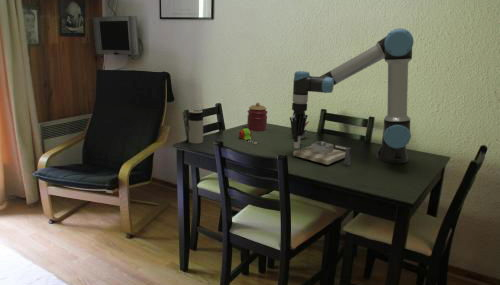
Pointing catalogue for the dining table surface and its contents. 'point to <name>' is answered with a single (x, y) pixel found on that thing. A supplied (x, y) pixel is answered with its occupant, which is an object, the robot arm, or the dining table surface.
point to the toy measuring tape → (246, 134)
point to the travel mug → (195, 126)
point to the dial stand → (346, 155)
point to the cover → (322, 148)
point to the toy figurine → (304, 131)
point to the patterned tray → (318, 155)
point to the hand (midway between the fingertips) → (296, 147)
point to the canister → (257, 118)
